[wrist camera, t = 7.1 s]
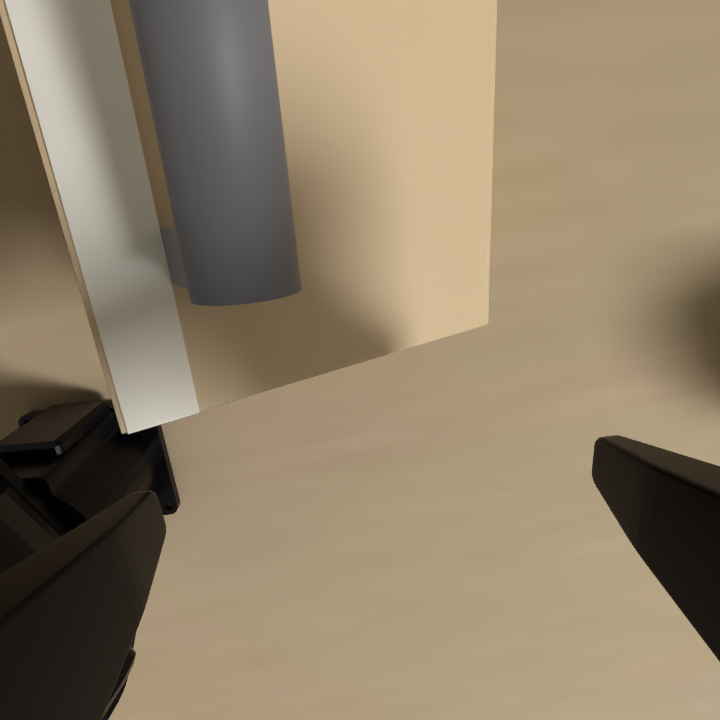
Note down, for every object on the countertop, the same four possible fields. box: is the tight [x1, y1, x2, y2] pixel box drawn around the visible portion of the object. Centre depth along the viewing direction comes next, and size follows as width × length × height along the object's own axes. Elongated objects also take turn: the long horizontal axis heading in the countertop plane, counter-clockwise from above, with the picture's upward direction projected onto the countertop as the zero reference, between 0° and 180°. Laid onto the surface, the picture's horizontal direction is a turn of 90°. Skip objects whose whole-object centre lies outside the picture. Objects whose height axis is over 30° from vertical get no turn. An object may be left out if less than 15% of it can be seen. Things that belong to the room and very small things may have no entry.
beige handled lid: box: [0, 0, 497, 434], centre depth 8 cm, size 13×11×4 cm
